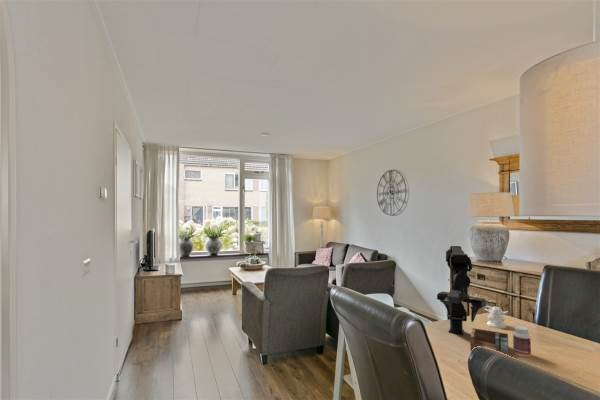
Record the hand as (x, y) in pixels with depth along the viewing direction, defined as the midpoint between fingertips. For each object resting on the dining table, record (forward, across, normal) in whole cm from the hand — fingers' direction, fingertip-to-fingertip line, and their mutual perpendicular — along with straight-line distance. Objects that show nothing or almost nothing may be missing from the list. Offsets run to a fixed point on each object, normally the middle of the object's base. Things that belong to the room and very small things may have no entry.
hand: (461, 319), depth 142 cm
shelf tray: (+14, +7, +13) cm, 20 cm away
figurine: (+15, -2, +49) cm, 51 cm away
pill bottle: (+14, +18, +16) cm, 28 cm away
